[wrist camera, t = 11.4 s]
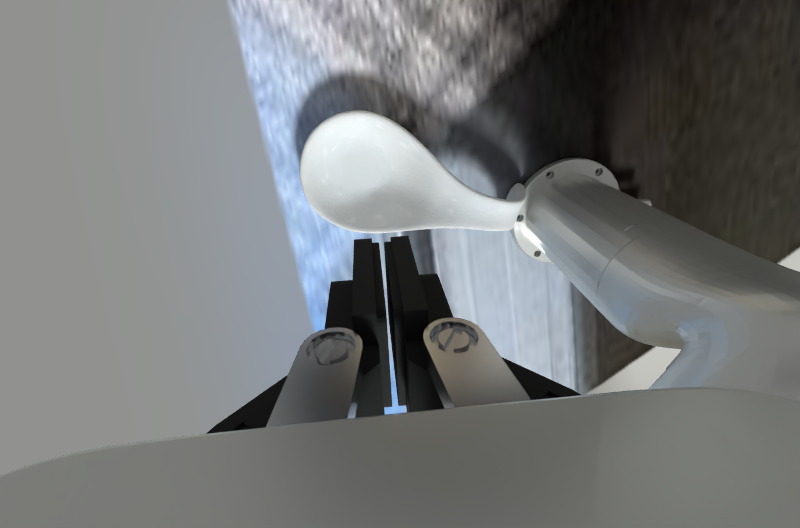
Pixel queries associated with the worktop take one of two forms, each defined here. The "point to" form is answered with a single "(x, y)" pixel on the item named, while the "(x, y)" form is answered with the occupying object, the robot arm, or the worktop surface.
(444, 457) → the robot arm
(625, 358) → the worktop surface
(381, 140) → the spoon rest
